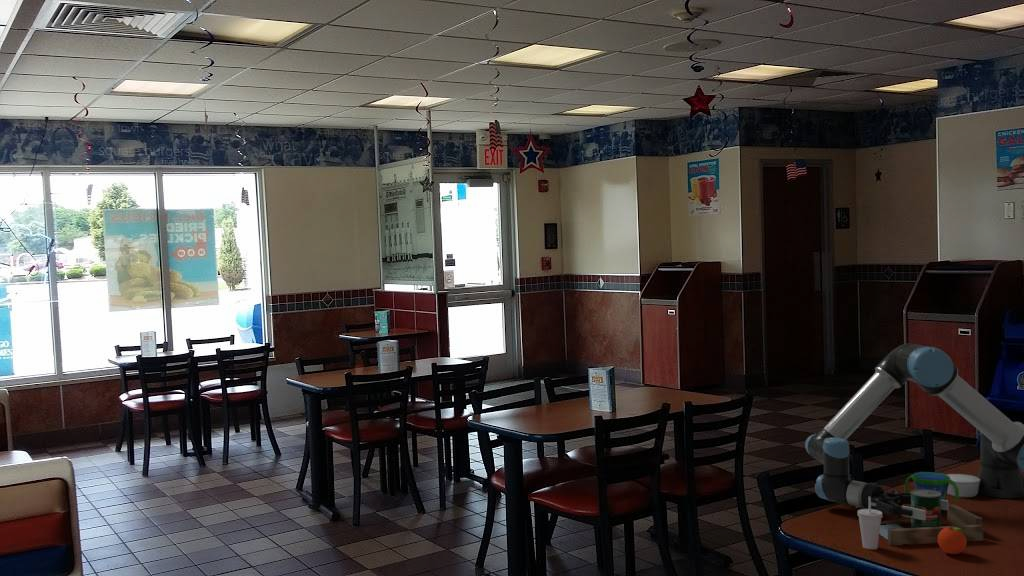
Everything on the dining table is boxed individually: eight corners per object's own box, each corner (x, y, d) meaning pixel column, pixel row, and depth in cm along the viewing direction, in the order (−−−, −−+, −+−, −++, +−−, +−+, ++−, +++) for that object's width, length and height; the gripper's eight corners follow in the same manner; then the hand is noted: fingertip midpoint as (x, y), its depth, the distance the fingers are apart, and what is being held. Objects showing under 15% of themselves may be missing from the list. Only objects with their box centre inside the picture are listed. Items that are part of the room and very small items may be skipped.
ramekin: (934, 492, 295) (934, 476, 295) (957, 487, 300) (957, 472, 299) (963, 500, 285) (963, 484, 284) (987, 495, 289) (987, 479, 289)
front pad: (896, 525, 261) (896, 524, 261) (922, 540, 247) (922, 539, 247) (867, 526, 261) (867, 525, 261) (891, 542, 247) (891, 541, 247)
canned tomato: (924, 536, 251) (923, 497, 250) (904, 528, 259) (904, 490, 258) (947, 533, 253) (947, 494, 253) (927, 525, 261) (927, 487, 260)
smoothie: (856, 549, 242) (855, 498, 241) (859, 542, 247) (858, 492, 247) (881, 552, 239) (881, 500, 238) (884, 545, 244) (883, 494, 244)
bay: (951, 520, 265) (951, 503, 265) (990, 540, 246) (990, 522, 246) (858, 524, 263) (858, 507, 262) (890, 545, 244) (890, 527, 244)
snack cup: (898, 506, 279) (898, 474, 279) (914, 500, 286) (914, 468, 286) (948, 517, 267) (948, 483, 267) (964, 510, 274) (964, 477, 274)
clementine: (961, 548, 240) (961, 522, 240) (976, 557, 233) (975, 530, 233) (932, 549, 240) (932, 523, 240) (945, 558, 233) (945, 531, 233)
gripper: (887, 499, 278) (956, 514, 261) (844, 516, 262) (915, 533, 245) (886, 475, 277) (956, 489, 261) (843, 491, 261) (915, 506, 245)
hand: (936, 510), depth 253 cm, fingers open, 13 cm apart
